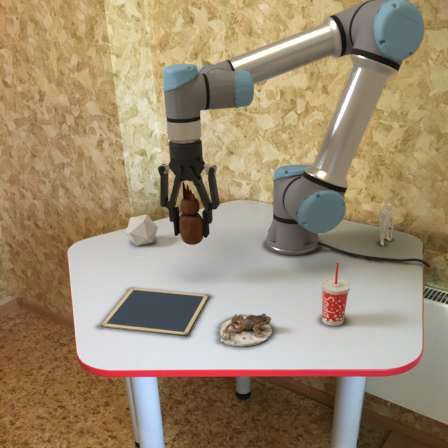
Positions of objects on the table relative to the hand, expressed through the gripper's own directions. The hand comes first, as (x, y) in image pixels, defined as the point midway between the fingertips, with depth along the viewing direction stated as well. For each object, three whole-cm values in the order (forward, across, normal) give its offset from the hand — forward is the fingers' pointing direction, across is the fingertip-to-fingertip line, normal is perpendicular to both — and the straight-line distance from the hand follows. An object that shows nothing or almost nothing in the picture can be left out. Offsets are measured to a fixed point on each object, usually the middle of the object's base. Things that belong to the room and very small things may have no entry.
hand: (192, 234), depth 131 cm
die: (+13, +22, -21) cm, 33 cm away
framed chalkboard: (+13, +4, +17) cm, 21 cm away
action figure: (+14, -48, -34) cm, 60 cm away
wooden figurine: (+2, 0, 0) cm, 2 cm away
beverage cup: (+13, -36, +13) cm, 40 cm away
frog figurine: (+13, -18, +21) cm, 30 cm away
